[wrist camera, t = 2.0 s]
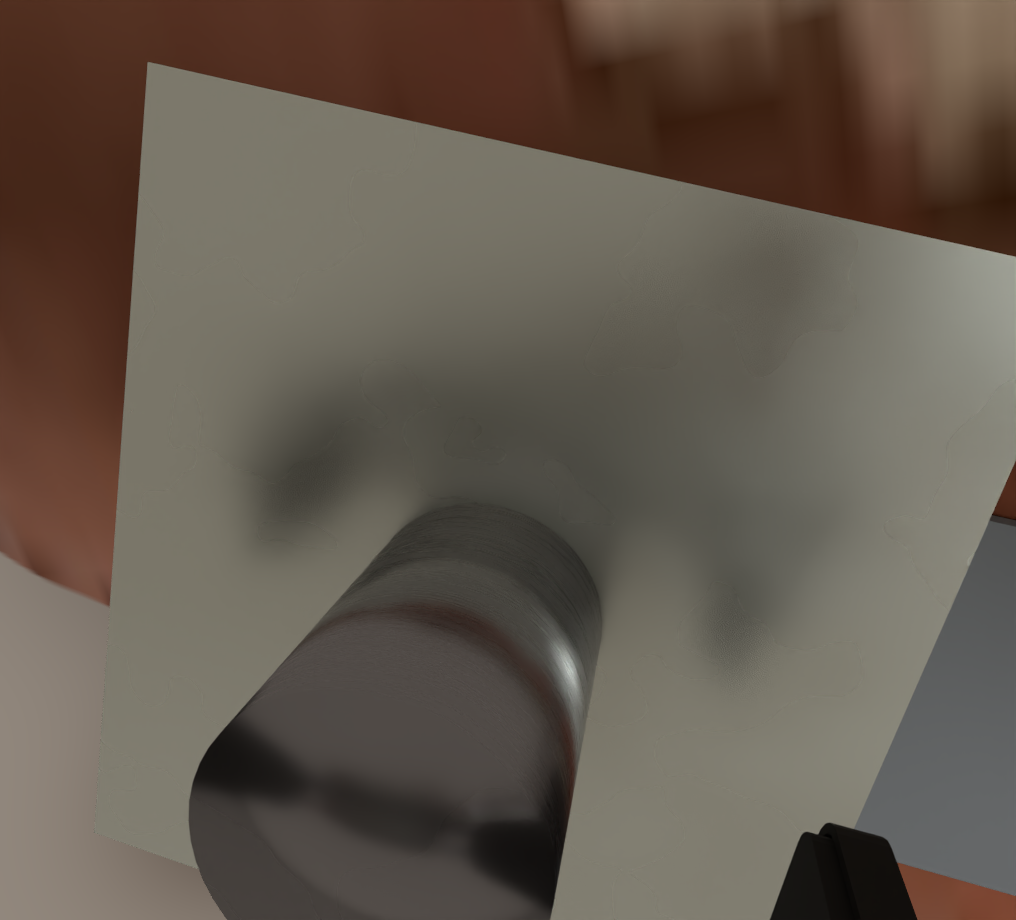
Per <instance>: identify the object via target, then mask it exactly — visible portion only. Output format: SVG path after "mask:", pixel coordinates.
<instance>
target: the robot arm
mask: <svg viewBox="0 0 1016 920" xmlns="http://www.w3.org/2000/svg"><path fill="white" fill-rule="evenodd" d="M770 920H917V917H916V915H915V912H914V909H913V906H912V903H911V901H910V898H909V895H908V892H907V889H906V887H905V884H904V881H903V878H902V875H901V873H900V870H899V867H898V864H897V861H896V859H895V856H894V853H893V850H892V848H891V846H890V844H889V842H888V840H886V839H885V838H884V837H881V836H878V835H874V834H870V833H867V832H863V831H859V830H856V829H852V828H848V827H845V826H841V825H837V824H834V823H825V825H824V826H823V827H822V828H821V830H820V832H819V834H814V833H811V832H804V833H803V834H802V835H801V837H800V839H799V841H798V843H797V846H796V849H795V852H794V854H793V857H792V860H791V863H790V865H789V868H788V871H787V874H786V876H785V879H784V882H783V885H782V887H781V890H780V893H779V896H778V898H777V901H776V904H775V907H774V909H773V912H772V915H771V918H770Z"/></svg>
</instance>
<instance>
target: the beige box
mask: <svg viewBox="0 0 1016 920" xmlns="http://www.w3.org/2000/svg"><path fill="white" fill-rule="evenodd" d="M1015 461H1016V257H1014V256H1009V255H1005V254H1001V253H996V252H992V251H987V250H983V249H978V248H974V247H969V246H965V245H961V244H956V243H952V242H947V241H943V240H938V239H934V238H929V237H925V236H920V235H916V234H912V233H907V232H903V231H898V230H894V229H889V228H885V227H880V226H876V225H872V224H867V223H863V222H858V221H854V220H849V219H845V218H840V217H836V216H831V215H827V214H823V213H818V212H814V211H809V210H805V209H800V208H796V207H791V206H787V205H783V204H778V203H774V202H769V201H765V200H760V199H756V198H751V197H747V196H743V195H738V194H734V193H729V192H725V191H720V190H716V189H711V188H707V187H702V186H698V185H694V184H689V183H685V182H680V181H676V180H671V179H667V178H662V177H658V176H654V175H649V174H645V173H640V172H636V171H631V170H627V169H622V168H618V167H613V166H609V165H605V164H600V163H596V162H591V161H587V160H582V159H578V158H573V157H569V156H565V155H560V154H556V153H551V152H547V151H542V150H538V149H533V148H529V147H524V146H520V145H516V144H511V143H507V142H502V141H498V140H493V139H489V138H484V137H480V136H476V135H471V134H467V133H462V132H458V131H453V130H449V129H444V128H440V127H435V126H431V125H427V124H422V123H418V122H413V121H409V120H404V119H400V118H395V117H391V116H387V115H382V114H378V113H373V112H369V111H364V110H360V109H355V108H351V107H346V106H342V105H338V104H333V103H329V102H324V101H320V100H315V99H311V98H306V97H302V96H298V95H293V94H289V93H284V92H280V91H275V90H271V89H266V88H262V87H257V86H253V85H249V84H244V83H240V82H235V81H231V80H226V79H222V78H217V77H213V76H209V75H204V74H200V73H195V72H191V71H186V70H182V69H177V68H173V67H168V66H164V65H160V64H155V63H151V62H148V65H147V79H146V93H145V108H144V122H143V137H142V151H141V165H140V180H139V194H138V209H137V223H136V237H135V252H134V266H133V281H132V295H131V309H130V324H129V338H128V353H127V367H126V381H125V396H124V410H123V425H122V439H121V453H120V468H119V482H118V497H117V511H116V525H115V540H114V554H113V569H112V583H111V597H110V612H109V627H108V641H107V655H106V670H105V684H104V698H103V713H102V728H101V742H100V756H99V771H98V785H97V799H96V814H95V828H94V833H97V834H100V835H103V836H105V837H108V838H111V839H114V840H117V841H120V842H123V843H125V844H128V845H131V846H134V847H137V848H140V849H143V850H145V851H148V852H151V853H154V854H157V855H160V856H163V857H165V858H169V859H171V860H174V861H177V862H180V863H183V864H186V865H188V866H191V867H194V868H197V869H199V870H200V873H201V876H202V878H203V881H204V883H205V884H206V886H207V888H208V890H209V892H210V894H211V896H212V898H213V900H214V901H215V902H216V904H217V905H218V907H219V909H220V910H221V911H222V913H223V914H224V916H225V917H226V919H227V920H770V918H771V915H772V912H773V909H774V907H775V904H776V901H777V898H778V896H779V893H780V890H781V887H782V885H783V882H784V879H785V876H786V874H787V871H788V868H789V865H790V863H791V860H792V857H793V854H794V852H795V849H796V846H797V843H798V841H799V839H800V837H801V835H802V834H803V833H804V832H811V833H814V834H819V832H820V830H821V828H822V827H823V826H824V825H825V823H834V824H837V825H841V826H845V827H848V828H852V829H854V827H855V825H856V823H857V820H858V818H859V816H860V814H861V811H862V809H863V807H864V805H865V802H866V800H867V798H868V795H869V793H870V791H871V789H872V786H873V784H874V782H875V779H876V777H877V775H878V773H879V770H880V768H881V766H882V764H883V761H884V759H885V757H886V754H887V752H888V750H889V748H890V745H891V743H892V741H893V739H894V736H895V734H896V732H897V729H898V727H899V725H900V723H901V720H902V718H903V716H904V713H905V711H906V709H907V707H908V704H909V702H910V700H911V698H912V695H913V693H914V691H915V688H916V686H917V684H918V682H919V679H920V677H921V675H922V673H923V670H924V668H925V666H926V663H927V661H928V659H929V657H930V654H931V652H932V650H933V647H934V645H935V643H936V641H937V638H938V636H939V634H940V632H941V629H942V627H943V625H944V622H945V620H946V618H947V616H948V613H949V611H950V609H951V607H952V604H953V602H954V600H955V597H956V595H957V593H958V591H959V588H960V586H961V584H962V581H963V579H964V577H965V575H966V572H967V570H968V568H969V566H970V563H971V561H972V559H973V556H974V554H975V552H976V550H977V547H978V545H979V543H980V540H981V538H982V536H983V534H984V531H985V529H986V527H987V525H988V522H989V520H990V518H991V515H992V513H993V511H994V509H995V506H996V504H997V502H998V500H999V497H1000V495H1001V493H1002V490H1003V488H1004V486H1005V484H1006V481H1007V479H1008V477H1009V474H1010V472H1011V470H1012V468H1013V465H1014V463H1015Z"/></svg>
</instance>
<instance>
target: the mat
mask: <svg viewBox="0 0 1016 920" xmlns="http://www.w3.org/2000/svg"><path fill="white" fill-rule="evenodd" d="M854 829H856V830H859V831H863V832H867V833H870V834H874V835H878V836H881V837H884V838H885V839H886V840H888V842H889V844H890V846H891V848H892V850H893V853H894V856H895V859H896V861H897V862H898V863H902V864H905V865H909V866H912V867H916V868H919V869H923V870H926V871H930V872H934V873H937V874H941V875H944V876H948V877H951V878H955V879H958V880H962V881H965V882H969V883H972V884H976V885H979V886H983V887H986V888H990V889H993V890H997V891H1000V892H1004V893H1007V894H1011V895H1015V896H1016V520H1011V519H1007V518H1003V517H998V516H994V515H991V518H990V520H989V522H988V525H987V527H986V529H985V531H984V534H983V536H982V538H981V540H980V543H979V545H978V547H977V550H976V552H975V554H974V556H973V559H972V561H971V563H970V566H969V568H968V570H967V572H966V575H965V577H964V579H963V581H962V584H961V586H960V588H959V591H958V593H957V595H956V597H955V600H954V602H953V604H952V607H951V609H950V611H949V613H948V616H947V618H946V620H945V622H944V625H943V627H942V629H941V632H940V634H939V636H938V638H937V641H936V643H935V645H934V647H933V650H932V652H931V654H930V657H929V659H928V661H927V663H926V666H925V668H924V670H923V673H922V675H921V677H920V679H919V682H918V684H917V686H916V688H915V691H914V693H913V695H912V698H911V700H910V702H909V704H908V707H907V709H906V711H905V713H904V716H903V718H902V720H901V723H900V725H899V727H898V729H897V732H896V734H895V736H894V739H893V741H892V743H891V745H890V748H889V750H888V752H887V754H886V757H885V759H884V761H883V764H882V766H881V768H880V770H879V773H878V775H877V777H876V779H875V782H874V784H873V786H872V789H871V791H870V793H869V795H868V798H867V800H866V802H865V805H864V807H863V809H862V811H861V814H860V816H859V818H858V820H857V823H856V825H855V827H854Z"/></svg>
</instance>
